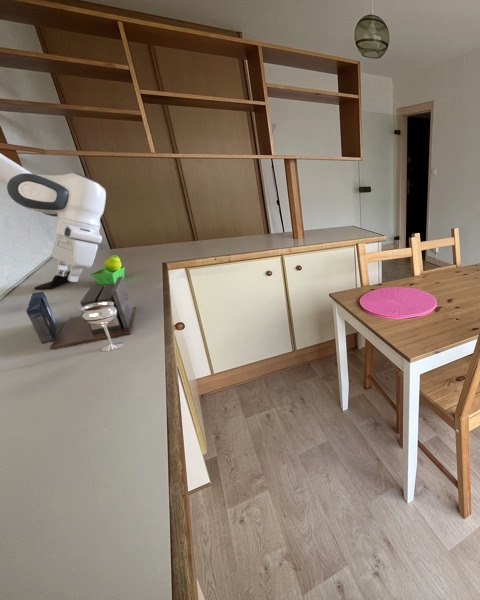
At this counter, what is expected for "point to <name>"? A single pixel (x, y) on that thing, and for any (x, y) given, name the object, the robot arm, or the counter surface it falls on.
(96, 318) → the wineglass
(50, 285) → the handheld gaming console
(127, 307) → the book rack
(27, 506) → the counter surface
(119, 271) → the fruit basket
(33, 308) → the vhs cassette tape
